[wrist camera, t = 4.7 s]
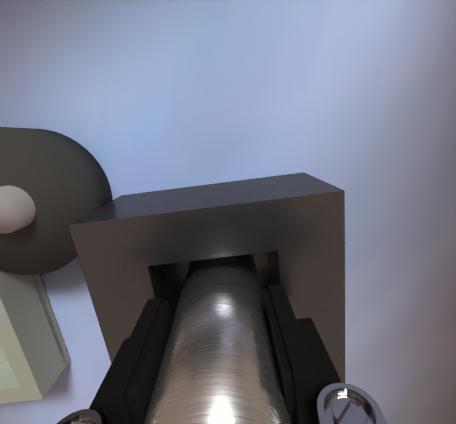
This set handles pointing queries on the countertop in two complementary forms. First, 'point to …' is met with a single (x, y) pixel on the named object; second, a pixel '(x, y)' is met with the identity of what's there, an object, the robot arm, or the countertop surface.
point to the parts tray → (28, 340)
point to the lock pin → (219, 351)
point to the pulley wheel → (44, 198)
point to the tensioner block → (218, 249)
